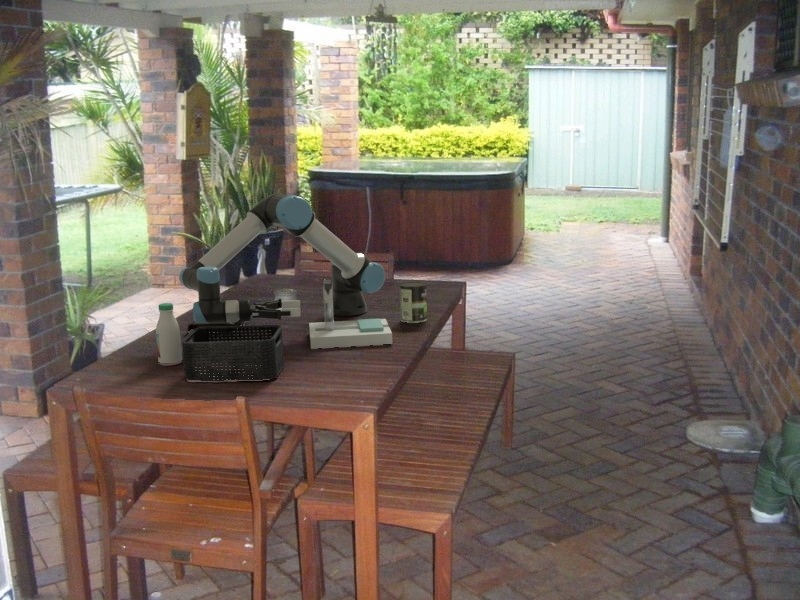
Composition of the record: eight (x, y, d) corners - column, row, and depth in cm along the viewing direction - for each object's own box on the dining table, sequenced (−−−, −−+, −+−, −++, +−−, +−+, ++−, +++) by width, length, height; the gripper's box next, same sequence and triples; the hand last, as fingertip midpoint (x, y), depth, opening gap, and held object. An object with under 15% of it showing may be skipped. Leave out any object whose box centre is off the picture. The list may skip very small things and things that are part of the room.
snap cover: (357, 322, 330) (357, 319, 330) (379, 321, 331) (379, 318, 331) (360, 332, 317) (360, 328, 317) (383, 330, 318) (383, 327, 317)
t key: (325, 334, 326) (322, 280, 322) (334, 333, 327) (331, 279, 323) (325, 339, 320) (323, 283, 315) (334, 338, 320) (332, 283, 316)
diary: (187, 336, 338) (186, 323, 336) (209, 320, 362) (208, 308, 361) (236, 336, 335) (235, 322, 334) (255, 320, 359) (254, 307, 358)
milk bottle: (187, 361, 302) (182, 302, 297) (174, 367, 294) (169, 307, 290) (167, 359, 304) (162, 301, 300) (153, 366, 297) (148, 306, 293)
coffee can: (429, 317, 353) (428, 281, 350) (424, 323, 343) (424, 286, 340) (403, 316, 355) (402, 281, 352) (398, 323, 345) (396, 286, 342)
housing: (309, 333, 333) (309, 322, 332) (385, 329, 336) (385, 318, 335) (310, 349, 312) (310, 337, 311) (392, 344, 315) (392, 333, 314)
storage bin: (182, 384, 277) (178, 341, 275) (198, 366, 296) (195, 326, 293) (275, 382, 276) (273, 339, 273) (286, 364, 295) (283, 324, 292)
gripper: (241, 313, 330) (300, 310, 333) (237, 329, 306) (301, 326, 308) (240, 293, 329) (299, 290, 331) (236, 307, 304) (300, 305, 307)
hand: (300, 308), depth 320 cm, fingers open, 13 cm apart
